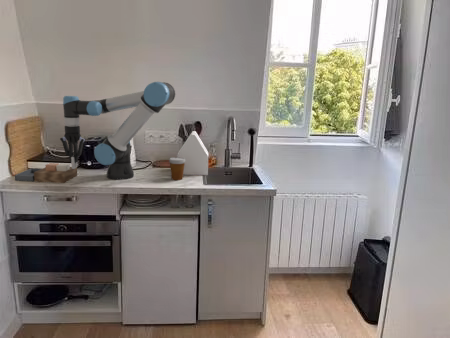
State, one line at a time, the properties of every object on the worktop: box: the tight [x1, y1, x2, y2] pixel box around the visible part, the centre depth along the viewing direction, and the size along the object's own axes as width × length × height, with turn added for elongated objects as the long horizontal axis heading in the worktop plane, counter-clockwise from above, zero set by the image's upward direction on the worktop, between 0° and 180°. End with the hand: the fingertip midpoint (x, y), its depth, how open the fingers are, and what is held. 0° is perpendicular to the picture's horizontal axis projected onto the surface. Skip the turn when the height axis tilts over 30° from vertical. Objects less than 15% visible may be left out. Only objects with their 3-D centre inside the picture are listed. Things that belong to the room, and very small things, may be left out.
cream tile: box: [56, 163, 71, 171], centre depth 193 cm, size 5×5×3 cm
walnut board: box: [34, 166, 78, 184], centre depth 194 cm, size 16×16×5 cm
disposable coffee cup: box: [168, 156, 186, 181], centre depth 204 cm, size 10×10×12 cm
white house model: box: [176, 130, 209, 176], centre depth 221 cm, size 19×15×25 cm
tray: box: [14, 167, 42, 182], centre depth 195 cm, size 10×16×3 cm, turn 179°
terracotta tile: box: [45, 162, 60, 171], centre depth 193 cm, size 5×5×3 cm
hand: (74, 168), depth 193 cm, fingers closed
